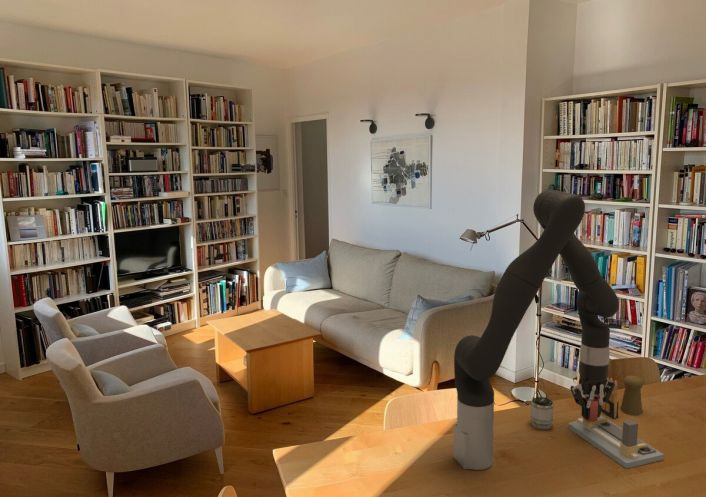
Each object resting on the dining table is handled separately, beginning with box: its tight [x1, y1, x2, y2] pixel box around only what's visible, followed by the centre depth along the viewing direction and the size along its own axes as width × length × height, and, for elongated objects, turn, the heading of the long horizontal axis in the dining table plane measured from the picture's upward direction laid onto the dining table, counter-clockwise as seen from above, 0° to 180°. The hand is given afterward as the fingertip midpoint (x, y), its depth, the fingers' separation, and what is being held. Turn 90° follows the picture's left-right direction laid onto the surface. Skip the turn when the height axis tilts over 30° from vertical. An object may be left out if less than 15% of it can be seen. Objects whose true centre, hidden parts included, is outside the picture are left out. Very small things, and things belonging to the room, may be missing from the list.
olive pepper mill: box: [619, 375, 644, 416], centre depth 165 cm, size 6×6×11 cm
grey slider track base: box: [567, 415, 665, 470], centre depth 147 cm, size 12×22×10 cm, turn 17°
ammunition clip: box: [601, 377, 619, 420], centre depth 165 cm, size 11×2×12 cm, turn 16°
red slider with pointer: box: [582, 398, 609, 428], centre depth 153 cm, size 7×3×8 cm, turn 107°
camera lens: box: [530, 396, 555, 430], centre depth 158 cm, size 6×6×8 cm
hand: (591, 417), depth 152 cm, fingers closed on red slider with pointer, 3 cm apart
